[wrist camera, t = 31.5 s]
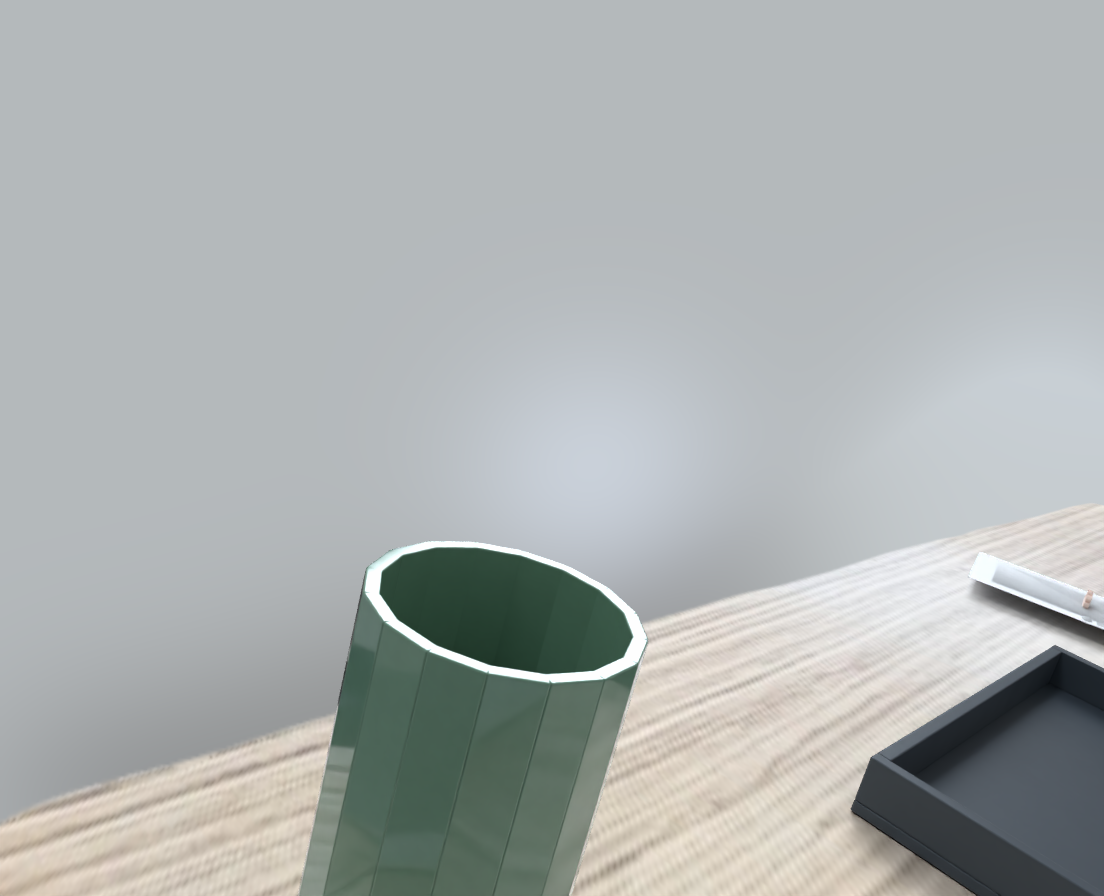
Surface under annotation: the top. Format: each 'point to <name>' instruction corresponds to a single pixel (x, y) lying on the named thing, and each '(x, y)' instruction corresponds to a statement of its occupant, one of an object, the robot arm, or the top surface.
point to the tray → (1004, 784)
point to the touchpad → (1039, 589)
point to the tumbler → (471, 726)
